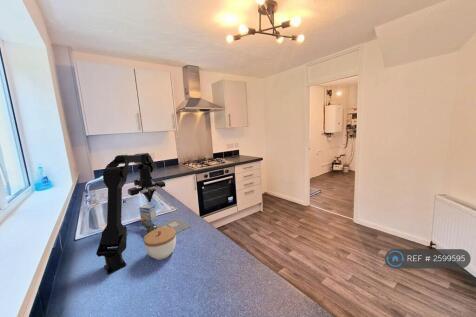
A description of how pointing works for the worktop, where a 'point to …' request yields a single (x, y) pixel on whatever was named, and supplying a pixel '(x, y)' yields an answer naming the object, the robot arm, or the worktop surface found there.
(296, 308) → the worktop surface
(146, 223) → the cable arm
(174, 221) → the chassis plate
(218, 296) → the worktop surface
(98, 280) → the worktop surface
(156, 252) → the lidded bowl
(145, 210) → the medicine box
